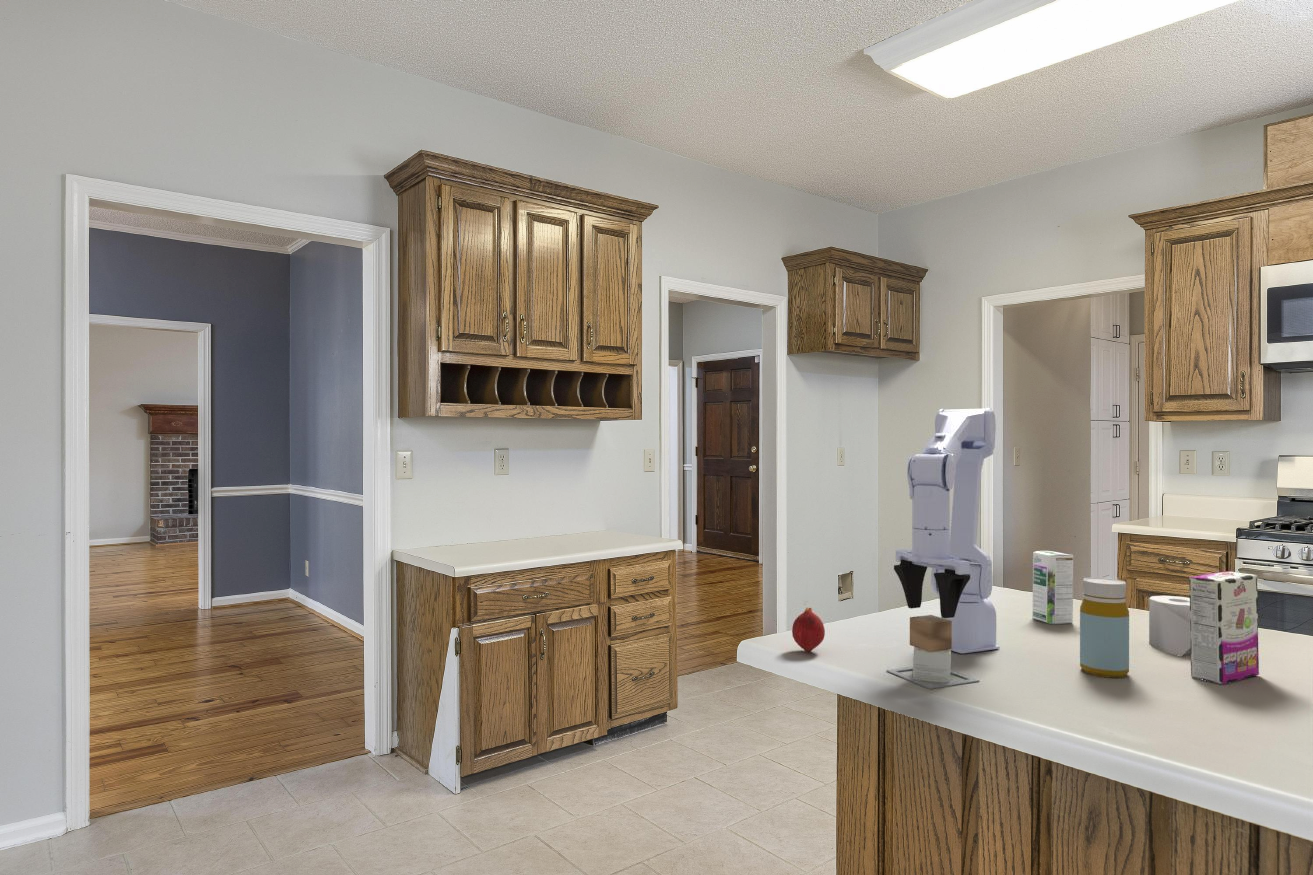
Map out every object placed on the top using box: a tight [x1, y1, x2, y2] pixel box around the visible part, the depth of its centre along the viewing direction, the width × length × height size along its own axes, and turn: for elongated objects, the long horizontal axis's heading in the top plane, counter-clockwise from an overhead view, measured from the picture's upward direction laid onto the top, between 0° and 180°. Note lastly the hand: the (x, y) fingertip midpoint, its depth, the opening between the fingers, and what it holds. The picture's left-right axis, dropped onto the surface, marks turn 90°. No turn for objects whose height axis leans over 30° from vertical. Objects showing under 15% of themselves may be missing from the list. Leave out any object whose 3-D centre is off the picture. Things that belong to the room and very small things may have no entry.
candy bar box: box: [1188, 571, 1260, 685], centre depth 127 cm, size 11×5×16 cm, turn 118°
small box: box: [912, 646, 952, 684], centre depth 126 cm, size 6×6×5 cm
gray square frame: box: [885, 666, 980, 690], centre depth 126 cm, size 10×10×1 cm
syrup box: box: [1031, 550, 1074, 625], centre depth 166 cm, size 6×6×14 cm
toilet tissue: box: [1148, 595, 1191, 657], centre depth 143 cm, size 9×13×9 cm
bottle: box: [1079, 577, 1130, 679], centre depth 129 cm, size 7×7×15 cm
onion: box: [791, 606, 826, 653], centre depth 140 cm, size 6×6×8 cm
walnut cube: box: [909, 614, 952, 652], centre depth 126 cm, size 4×4×4 cm
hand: (930, 612), depth 126 cm, fingers open, 7 cm apart
